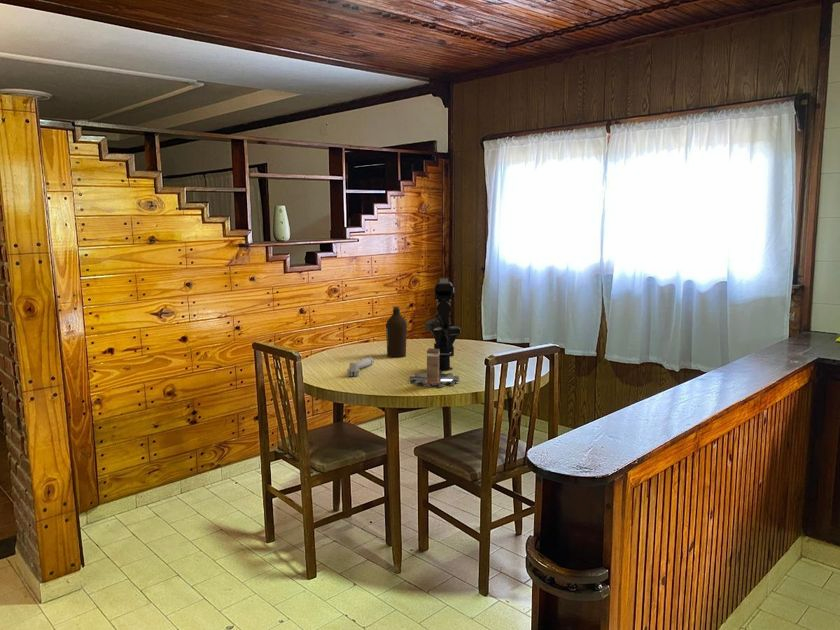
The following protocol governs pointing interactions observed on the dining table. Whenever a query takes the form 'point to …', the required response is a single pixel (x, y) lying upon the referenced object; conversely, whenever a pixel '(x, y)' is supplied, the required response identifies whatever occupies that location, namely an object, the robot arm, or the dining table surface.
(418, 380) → the sprocket plate
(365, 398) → the dining table surface
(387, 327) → the olive oil
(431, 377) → the link block
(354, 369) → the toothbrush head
